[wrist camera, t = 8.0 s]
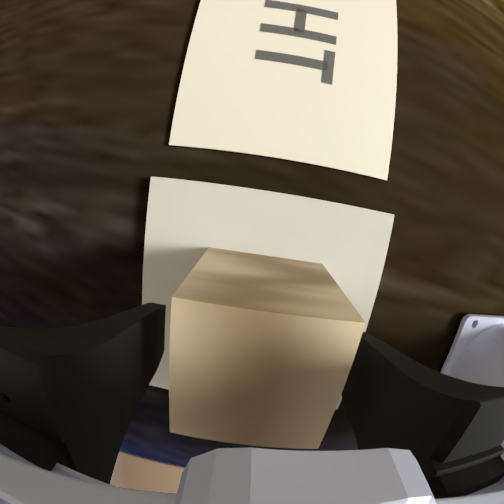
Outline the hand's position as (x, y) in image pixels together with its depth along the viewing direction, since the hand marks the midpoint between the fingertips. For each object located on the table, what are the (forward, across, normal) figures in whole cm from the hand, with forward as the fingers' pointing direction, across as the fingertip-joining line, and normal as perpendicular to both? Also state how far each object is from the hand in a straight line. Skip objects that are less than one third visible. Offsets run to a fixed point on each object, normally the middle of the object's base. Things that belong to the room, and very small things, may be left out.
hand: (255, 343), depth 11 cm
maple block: (+3, 0, 0) cm, 3 cm away
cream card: (+3, 0, -13) cm, 13 cm away
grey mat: (+3, 0, 0) cm, 3 cm away
